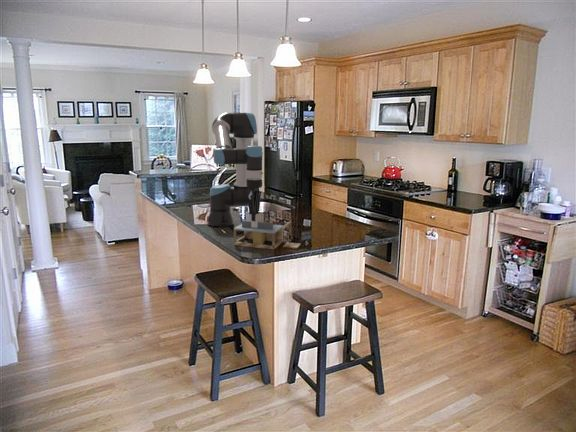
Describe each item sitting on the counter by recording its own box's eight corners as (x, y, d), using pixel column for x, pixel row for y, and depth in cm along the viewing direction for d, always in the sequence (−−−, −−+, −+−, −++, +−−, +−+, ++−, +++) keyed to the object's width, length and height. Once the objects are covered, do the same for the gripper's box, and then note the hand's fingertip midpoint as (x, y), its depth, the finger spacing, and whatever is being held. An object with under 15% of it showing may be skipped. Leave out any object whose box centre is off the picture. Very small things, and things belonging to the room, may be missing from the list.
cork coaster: (283, 247, 213) (283, 246, 212) (287, 243, 219) (287, 242, 219) (296, 248, 211) (296, 247, 210) (300, 244, 217) (300, 243, 217)
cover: (233, 229, 213) (233, 222, 212) (244, 223, 226) (244, 216, 225) (274, 233, 207) (274, 225, 206) (283, 227, 220) (283, 219, 219)
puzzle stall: (233, 245, 215) (233, 230, 213) (254, 231, 241) (254, 218, 240) (274, 249, 209) (274, 234, 207) (291, 234, 235) (291, 221, 234)
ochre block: (252, 244, 217) (252, 230, 215) (256, 242, 221) (256, 228, 219) (261, 245, 215) (261, 231, 214) (264, 242, 220) (264, 229, 218)
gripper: (256, 181, 198) (256, 231, 203) (266, 177, 210) (266, 224, 216) (241, 180, 200) (241, 229, 206) (252, 176, 213) (252, 223, 218)
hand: (254, 227), depth 211 cm, fingers closed
